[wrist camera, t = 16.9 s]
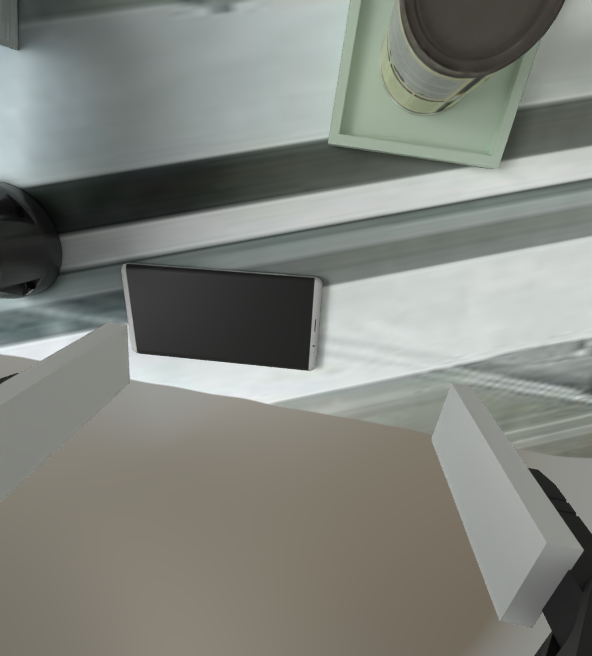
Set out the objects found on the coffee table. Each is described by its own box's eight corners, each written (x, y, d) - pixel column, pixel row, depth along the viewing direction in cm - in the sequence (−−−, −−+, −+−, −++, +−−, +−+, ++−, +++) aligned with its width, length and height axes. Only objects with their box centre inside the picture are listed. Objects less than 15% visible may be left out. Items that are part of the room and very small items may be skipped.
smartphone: (125, 260, 47) (118, 263, 46) (323, 275, 45) (322, 278, 43) (137, 349, 52) (131, 353, 51) (316, 366, 50) (315, 372, 48)
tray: (328, 145, 39) (327, 143, 37) (362, -72, 32) (363, -86, 31) (491, 169, 38) (498, 167, 36) (561, -49, 31) (573, -63, 30)
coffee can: (404, -26, 33) (448, -171, 20) (507, 12, 33) (619, -107, 20) (361, 97, 36) (374, 45, 23) (453, 131, 37) (517, 98, 24)
